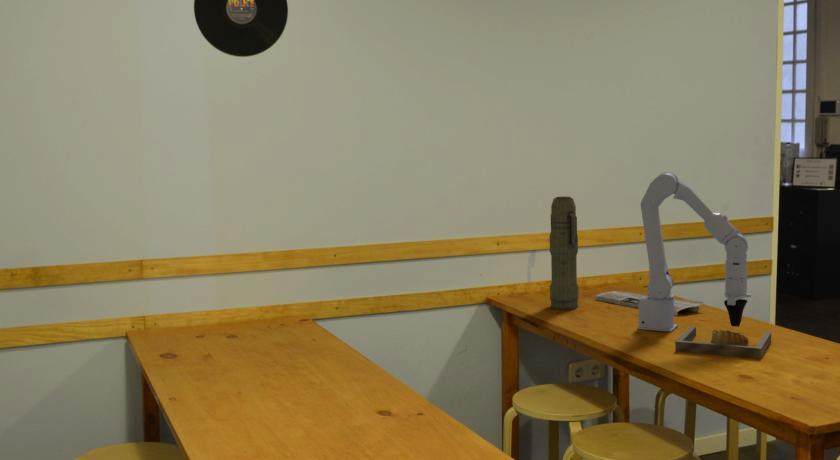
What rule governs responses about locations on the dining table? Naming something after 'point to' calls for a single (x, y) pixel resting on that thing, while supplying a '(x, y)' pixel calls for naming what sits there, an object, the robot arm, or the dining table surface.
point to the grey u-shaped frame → (721, 346)
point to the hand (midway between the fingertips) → (735, 325)
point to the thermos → (564, 254)
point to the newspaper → (634, 299)
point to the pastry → (728, 338)
